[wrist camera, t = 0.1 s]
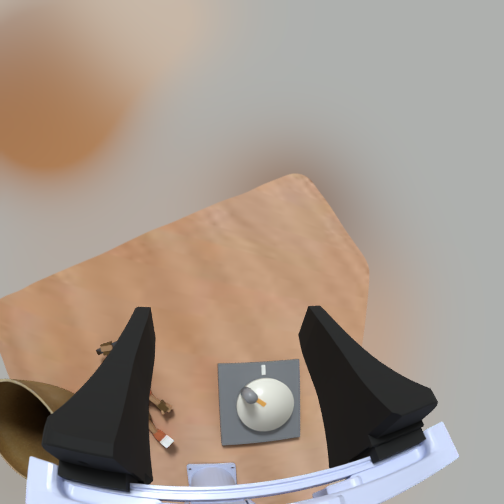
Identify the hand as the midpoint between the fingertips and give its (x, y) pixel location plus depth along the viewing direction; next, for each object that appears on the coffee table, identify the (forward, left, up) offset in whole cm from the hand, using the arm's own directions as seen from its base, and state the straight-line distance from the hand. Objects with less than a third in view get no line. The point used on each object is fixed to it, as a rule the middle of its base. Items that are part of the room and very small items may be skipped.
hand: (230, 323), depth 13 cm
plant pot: (-16, +24, -32) cm, 43 cm away
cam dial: (-13, -9, -31) cm, 34 cm away
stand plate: (-13, -8, -32) cm, 35 cm away
